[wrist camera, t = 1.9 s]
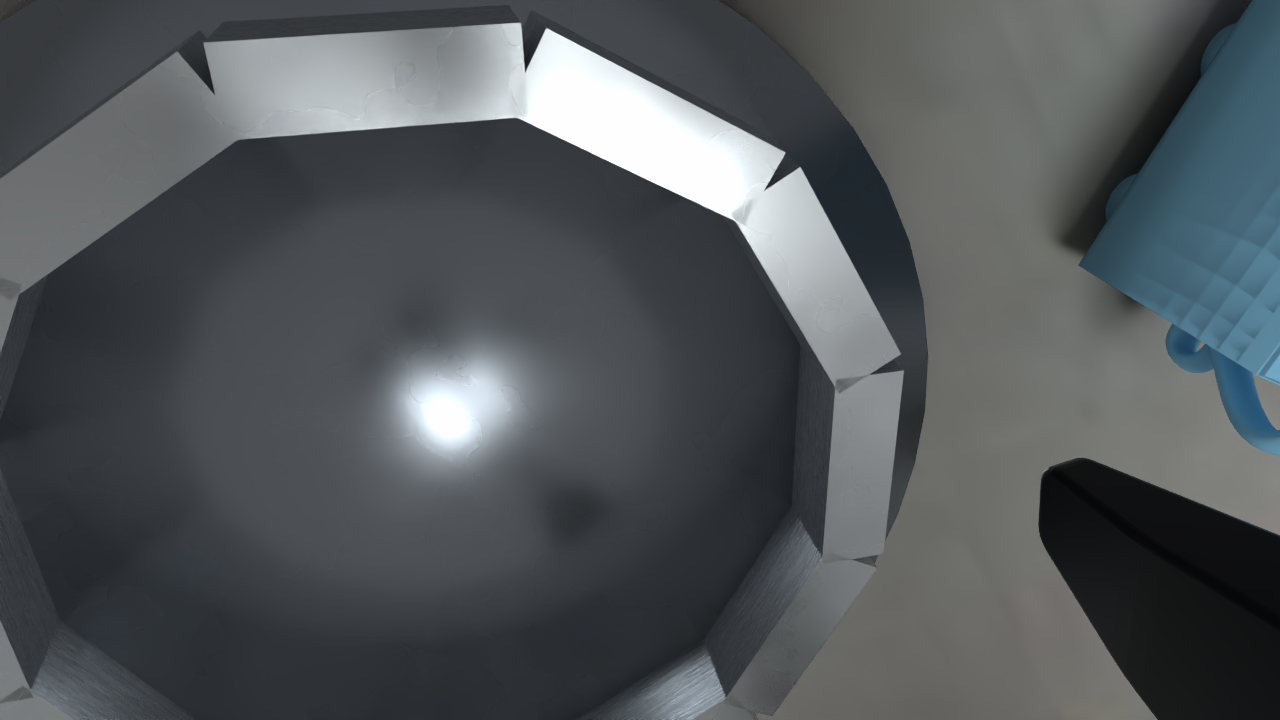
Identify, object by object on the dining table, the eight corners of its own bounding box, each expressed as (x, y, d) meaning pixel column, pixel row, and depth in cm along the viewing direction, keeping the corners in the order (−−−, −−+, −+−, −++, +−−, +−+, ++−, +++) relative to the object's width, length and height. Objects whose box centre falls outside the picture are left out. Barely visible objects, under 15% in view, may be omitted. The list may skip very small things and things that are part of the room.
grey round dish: (1095, 215, 23) (1176, 258, 21) (637, 868, 30) (658, 957, 28) (6, -412, 14) (-73, -465, 12) (-273, 724, 22) (-358, 837, 19)
